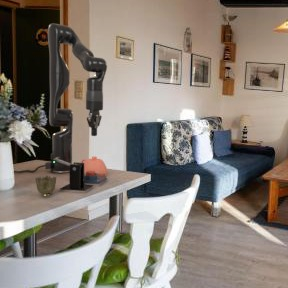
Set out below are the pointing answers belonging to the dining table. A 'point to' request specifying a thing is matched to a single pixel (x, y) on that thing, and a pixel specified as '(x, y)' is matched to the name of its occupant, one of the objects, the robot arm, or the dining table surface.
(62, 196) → the dining table surface
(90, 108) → the robot arm
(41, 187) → the cup
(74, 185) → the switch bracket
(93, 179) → the control box
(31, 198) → the dining table surface
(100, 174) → the sugar bowl
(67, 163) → the switch lever
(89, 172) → the button
